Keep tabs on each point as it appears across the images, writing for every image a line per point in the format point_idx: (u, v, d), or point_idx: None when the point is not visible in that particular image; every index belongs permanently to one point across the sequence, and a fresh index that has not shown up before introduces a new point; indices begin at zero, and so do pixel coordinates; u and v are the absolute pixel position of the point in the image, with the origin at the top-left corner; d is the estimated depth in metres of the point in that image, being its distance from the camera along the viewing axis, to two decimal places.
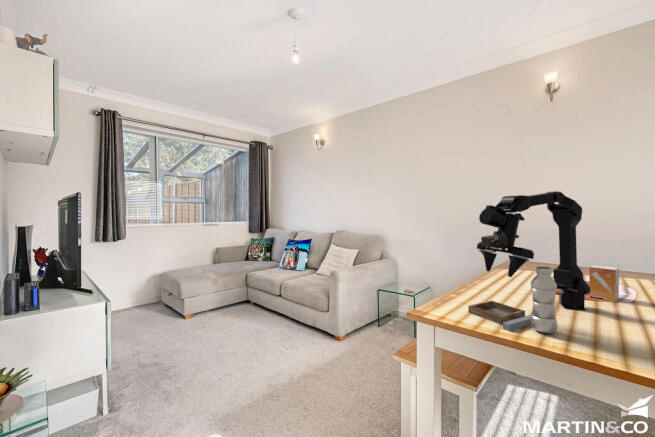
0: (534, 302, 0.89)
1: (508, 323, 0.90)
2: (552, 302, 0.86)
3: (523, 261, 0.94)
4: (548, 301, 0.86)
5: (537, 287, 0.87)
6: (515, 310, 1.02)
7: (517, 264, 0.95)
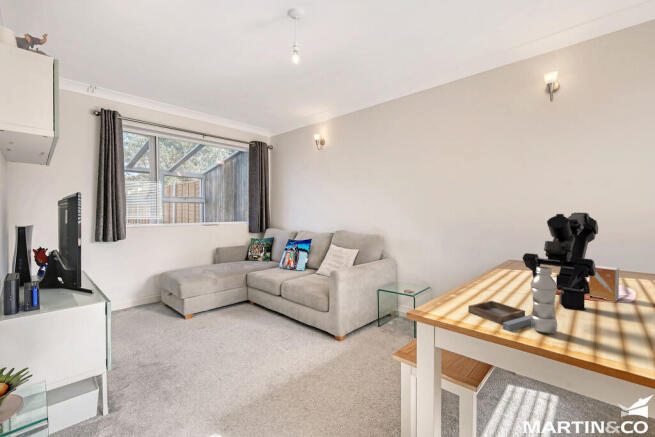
0: (534, 302, 0.89)
1: (508, 323, 0.90)
2: (552, 302, 0.86)
3: (582, 276, 0.91)
4: (548, 301, 0.86)
5: (537, 287, 0.87)
6: (515, 310, 1.02)
7: (577, 277, 0.90)
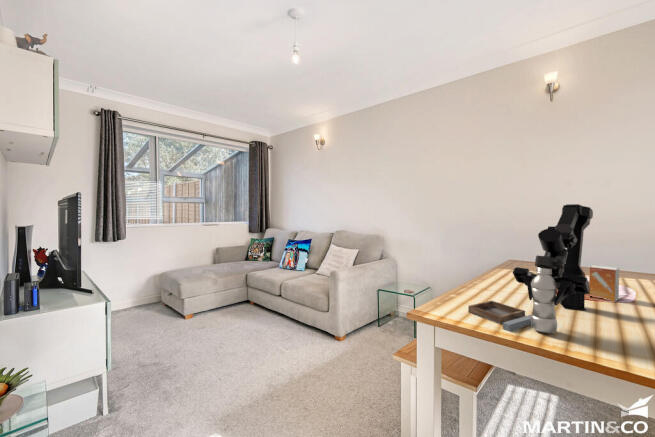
0: (534, 302, 0.89)
1: (508, 323, 0.90)
2: (552, 302, 0.86)
3: (569, 293, 0.87)
4: (549, 301, 0.86)
5: (537, 287, 0.87)
6: (515, 310, 1.02)
7: (564, 294, 0.86)
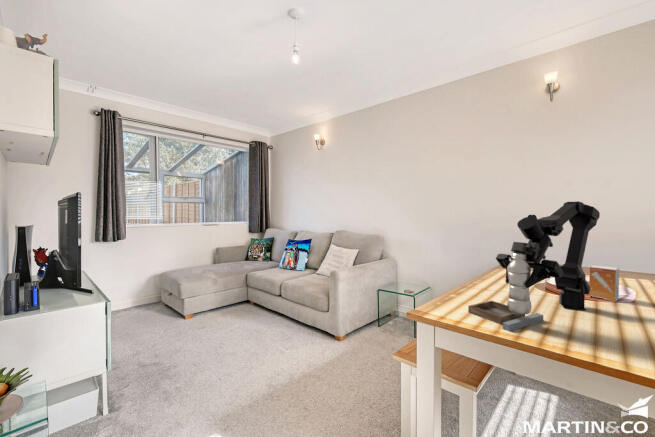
0: (509, 285, 0.95)
1: (508, 323, 0.90)
2: (525, 285, 0.92)
3: (543, 277, 0.91)
4: (521, 284, 0.92)
5: (511, 270, 0.93)
6: None
7: (537, 277, 0.91)
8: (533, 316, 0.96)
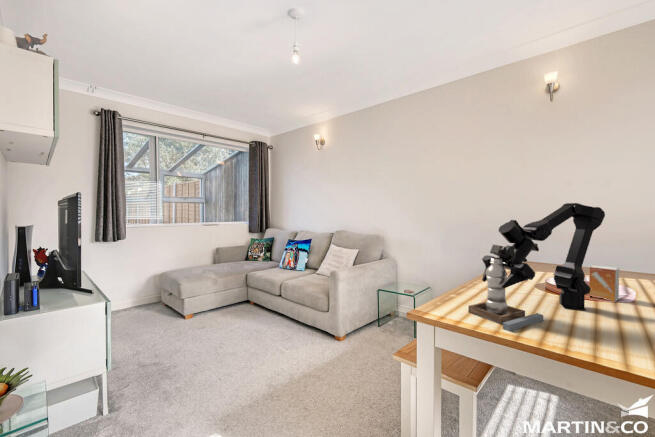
0: None
1: (508, 323, 0.90)
2: (499, 288, 1.00)
3: (521, 279, 0.97)
4: (495, 287, 1.00)
5: (487, 274, 1.02)
6: (515, 310, 1.02)
7: (515, 279, 0.97)
8: (533, 316, 0.96)
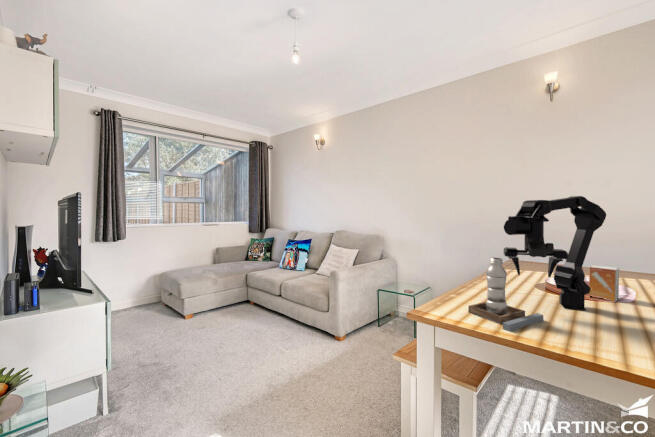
0: None
1: (508, 323, 0.90)
2: (499, 288, 1.00)
3: None
4: (495, 287, 1.00)
5: (487, 274, 1.03)
6: (515, 310, 1.02)
7: None
8: (533, 316, 0.96)
